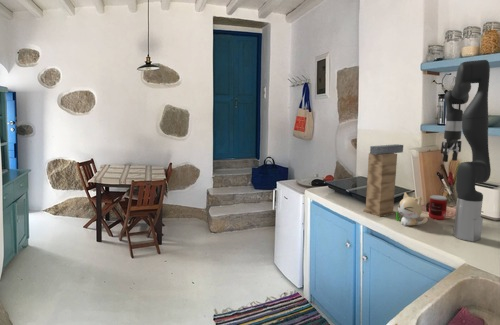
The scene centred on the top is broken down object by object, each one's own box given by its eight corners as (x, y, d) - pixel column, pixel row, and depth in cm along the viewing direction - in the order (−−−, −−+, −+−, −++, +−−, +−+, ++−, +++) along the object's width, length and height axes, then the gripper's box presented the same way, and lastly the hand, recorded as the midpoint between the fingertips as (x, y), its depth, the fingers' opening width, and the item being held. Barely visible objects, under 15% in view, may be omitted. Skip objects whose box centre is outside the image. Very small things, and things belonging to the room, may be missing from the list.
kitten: (388, 220, 169) (390, 191, 167) (404, 218, 172) (407, 190, 170) (410, 230, 155) (413, 199, 153) (428, 228, 158) (431, 197, 156)
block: (402, 152, 183) (403, 144, 182) (376, 154, 172) (376, 147, 172) (396, 151, 186) (396, 144, 185) (370, 153, 176) (370, 146, 175)
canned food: (441, 215, 177) (442, 195, 175) (448, 220, 169) (450, 199, 168) (425, 215, 178) (427, 194, 176) (432, 220, 170) (434, 198, 168)
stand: (395, 213, 181) (399, 153, 176) (380, 216, 175) (384, 155, 170) (378, 208, 190) (381, 151, 185) (363, 211, 184) (366, 153, 179)
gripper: (452, 130, 167) (449, 163, 170) (468, 129, 174) (464, 161, 177) (437, 129, 173) (434, 161, 176) (453, 129, 180) (450, 159, 183)
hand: (449, 161), depth 176 cm, fingers open, 8 cm apart
